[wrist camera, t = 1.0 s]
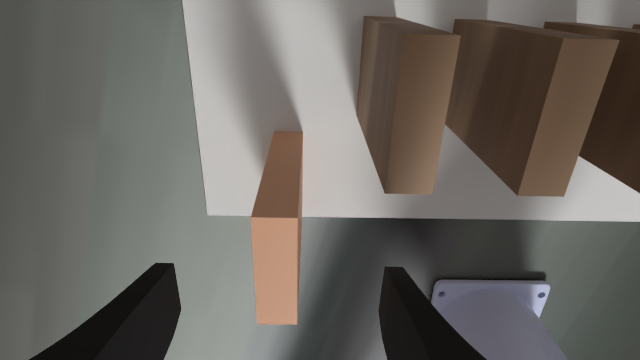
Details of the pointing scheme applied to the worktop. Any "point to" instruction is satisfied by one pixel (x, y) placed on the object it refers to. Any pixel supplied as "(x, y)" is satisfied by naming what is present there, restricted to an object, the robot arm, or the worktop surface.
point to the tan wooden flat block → (278, 231)
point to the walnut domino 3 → (614, 106)
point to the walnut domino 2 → (526, 99)
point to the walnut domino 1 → (405, 99)
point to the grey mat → (341, 109)
